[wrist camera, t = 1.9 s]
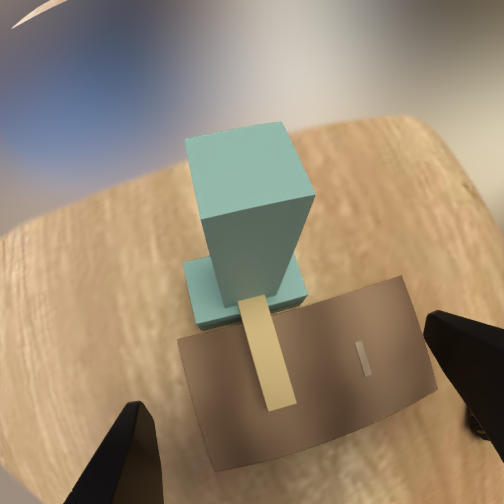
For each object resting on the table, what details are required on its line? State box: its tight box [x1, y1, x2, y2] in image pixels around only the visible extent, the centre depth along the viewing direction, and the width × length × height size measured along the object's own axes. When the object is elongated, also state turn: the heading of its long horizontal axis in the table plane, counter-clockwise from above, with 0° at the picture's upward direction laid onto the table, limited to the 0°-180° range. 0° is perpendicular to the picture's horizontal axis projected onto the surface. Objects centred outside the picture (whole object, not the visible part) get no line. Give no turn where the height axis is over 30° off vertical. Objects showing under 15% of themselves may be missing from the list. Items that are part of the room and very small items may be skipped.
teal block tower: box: [183, 122, 316, 412], centre depth 14 cm, size 7×10×14 cm
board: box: [177, 275, 438, 472], centre depth 18 cm, size 16×9×2 cm, turn 105°
